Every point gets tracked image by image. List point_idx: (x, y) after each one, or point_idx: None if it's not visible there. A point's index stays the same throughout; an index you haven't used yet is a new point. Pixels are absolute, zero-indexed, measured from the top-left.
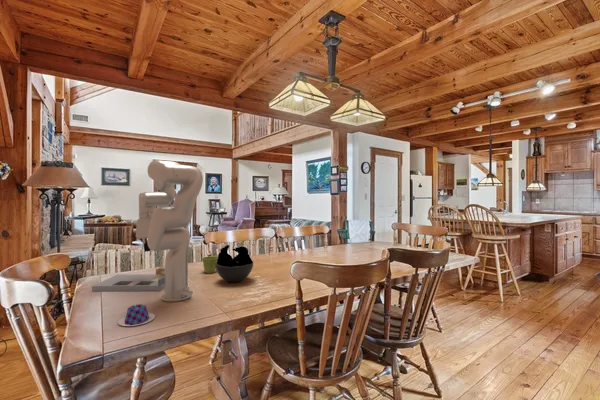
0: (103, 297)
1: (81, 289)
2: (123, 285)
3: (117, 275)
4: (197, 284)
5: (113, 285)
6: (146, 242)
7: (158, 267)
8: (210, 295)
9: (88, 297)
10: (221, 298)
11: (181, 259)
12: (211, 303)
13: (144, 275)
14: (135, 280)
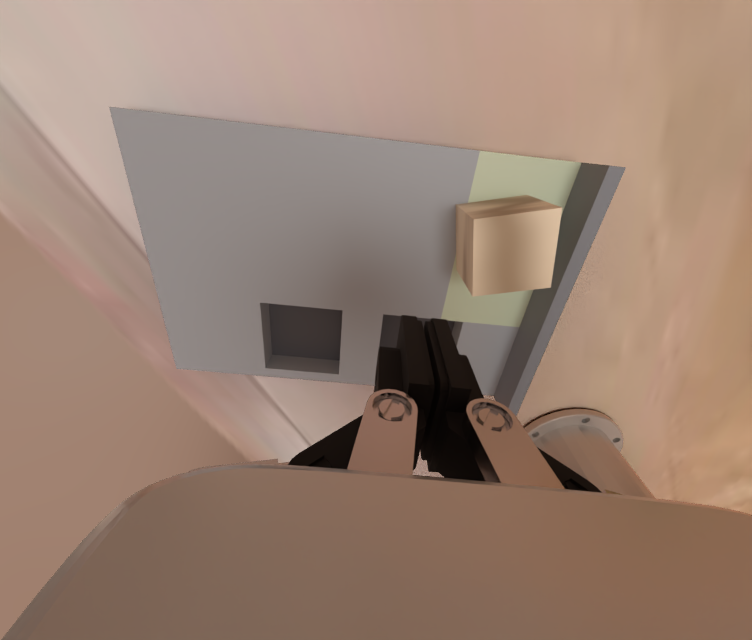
0: (295, 420)
1: (112, 321)
2: (326, 375)
3: (141, 149)
4: (679, 307)
5: (276, 370)
6: (416, 455)
7: (486, 249)
8: (686, 441)
9: (237, 415)
10: (711, 467)
11: None
12: (664, 494)
13: (353, 175)
14: (346, 299)
